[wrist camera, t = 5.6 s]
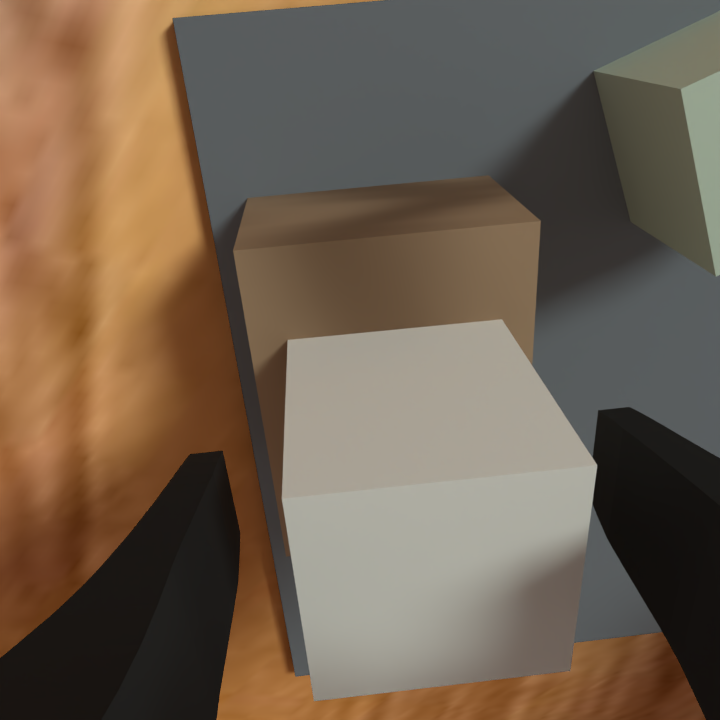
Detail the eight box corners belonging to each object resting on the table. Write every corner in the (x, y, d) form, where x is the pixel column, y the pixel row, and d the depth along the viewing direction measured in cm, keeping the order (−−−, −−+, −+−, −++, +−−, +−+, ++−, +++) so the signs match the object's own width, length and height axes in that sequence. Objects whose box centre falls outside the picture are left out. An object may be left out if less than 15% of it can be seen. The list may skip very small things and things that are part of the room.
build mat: (831, -38, 15) (845, -39, 15) (679, 620, 26) (684, 629, 25) (175, 18, 14) (172, 18, 14) (295, 667, 25) (295, 676, 25)
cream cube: (501, 319, 14) (597, 465, 9) (495, 487, 16) (570, 671, 11) (287, 339, 14) (281, 498, 9) (310, 507, 16) (314, 700, 11)
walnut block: (488, 175, 16) (540, 220, 13) (483, 438, 20) (522, 529, 17) (247, 197, 16) (233, 251, 13) (288, 460, 20) (286, 556, 16)
